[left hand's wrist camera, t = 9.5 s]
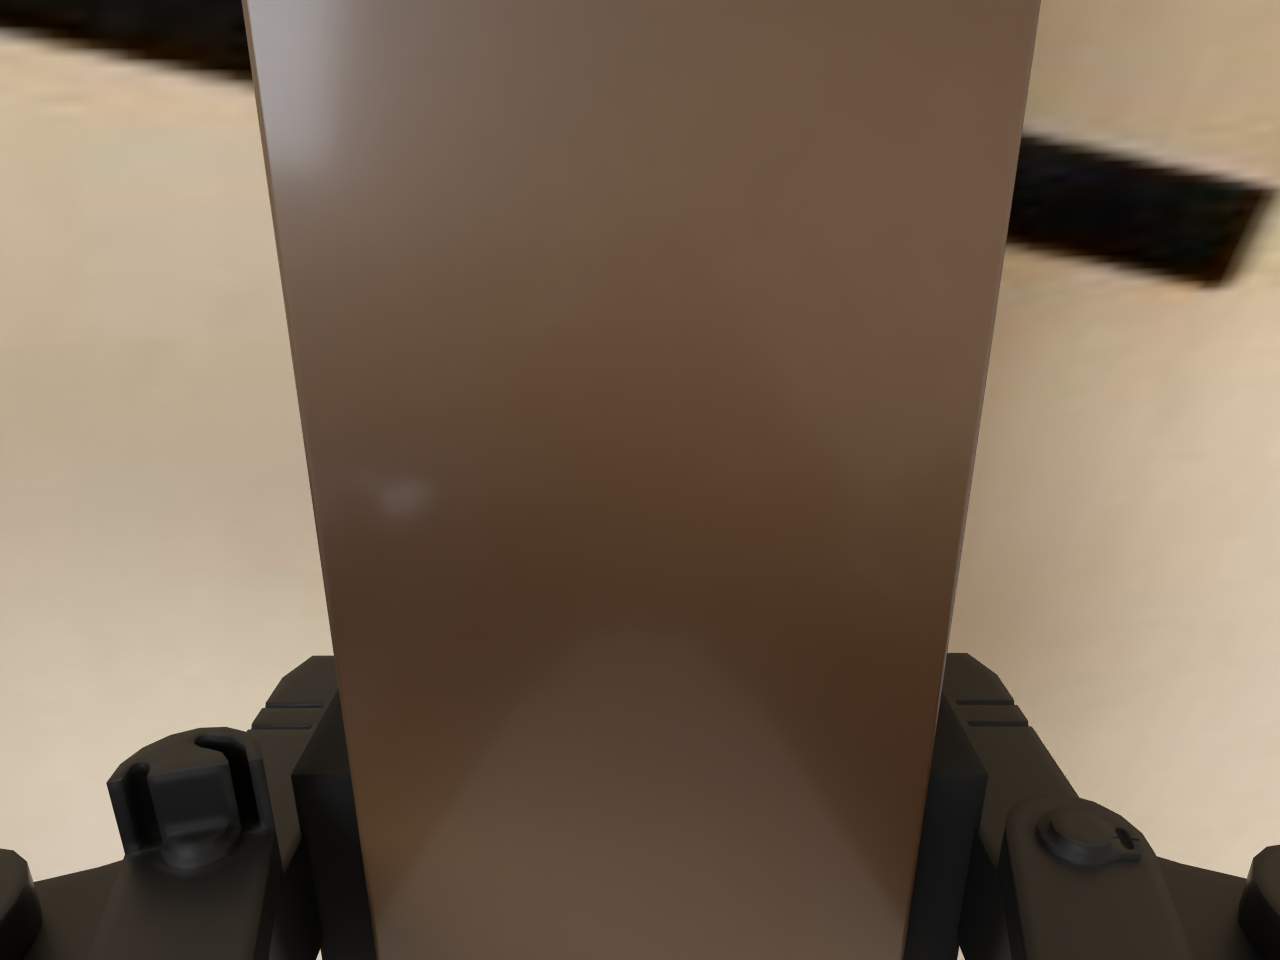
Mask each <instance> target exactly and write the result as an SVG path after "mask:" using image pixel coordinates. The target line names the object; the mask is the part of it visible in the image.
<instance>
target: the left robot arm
mask: <svg viewBox="0 0 1280 960" xmlns="http://www.w3.org/2000/svg"><path fill="white" fill-rule="evenodd" d="M107 787H108V791H109V795H110V798H111V802H112V806H113V810H114V814H115V817H116V821H117V825H118V829H119V833H120V836H121V840H122V844H123V848H124V852H125V856H124V859H123V860H121V861H118V862H115V863H111V864H108V865H105V866H101V867H98V868H93V869H89V870H85V871H80V872H76V873H72V874H67V875H63V876H59V877H54V878H50V879H46V880H41V881H37V882H33V880H32V876H31V873H30V870H29V867H28V864H27V861H25V860H24V859H23V858H22V857H21V856H19V855H18V854H17V853H16V852H15V851H13V850H6V849H0V960H316V958H317V956H318V953H319V951H320V949H321V954H322V960H377V957H376V950H375V943H374V936H373V929H372V922H371V915H370V908H369V901H368V893H367V886H366V879H365V872H364V865H363V858H362V851H361V844H360V837H359V830H358V822H357V815H356V808H355V801H354V794H353V787H352V780H351V773H350V766H349V759H348V751H347V744H346V737H345V730H344V723H343V716H342V709H341V702H340V695H339V688H338V680H337V673H336V666H335V659H334V656H312V657H310V658H309V659H308V660H306V661H305V662H303V663H302V664H301V665H299V666H298V667H297V668H295V669H294V670H292V671H291V672H290V673H288V674H287V675H286V676H284V677H283V678H282V679H281V681H280V682H279V684H278V685H277V687H276V688H275V690H274V691H273V693H272V694H271V696H270V697H269V699H268V700H267V702H266V707H265V708H262V709H261V711H260V712H259V714H258V715H257V717H256V718H255V720H254V721H253V723H252V728H251V730H247V732H244V731H240V730H236V729H232V728H228V727H213V728H197V729H193V730H189V731H185V732H181V733H177V734H173V735H170V736H167V737H165V738H163V739H161V740H159V741H156V742H154V743H152V744H150V745H148V746H145V747H143V748H142V749H140V750H139V751H138V752H136V753H135V754H134V755H132V756H131V757H129V758H128V759H127V760H125V761H124V762H123V763H121V764H120V765H119V767H118V768H117V769H116V771H115V772H114V773H113V775H112V776H111V777H110V779H109V780H108V781H107ZM959 946H960V948H961V951H962V953H963V956H964V958H965V960H1280V845H1275V846H1269V847H1266V848H1265V849H1264V850H1262V851H1261V852H1260V853H1259V854H1258V855H1256V856H1255V857H1254V858H1253V861H1252V864H1251V867H1250V870H1249V874H1248V877H1247V879H1246V878H1241V877H1237V876H1233V875H1228V874H1224V873H1220V872H1215V871H1211V870H1206V869H1202V868H1198V867H1193V866H1189V865H1185V864H1180V863H1177V862H1174V861H1170V860H1167V859H1164V858H1161V857H1157V856H1156V855H1155V853H1154V851H1153V849H1152V848H1151V846H1150V845H1149V843H1148V842H1147V840H1146V839H1145V837H1144V835H1143V834H1142V833H1141V832H1140V831H1139V830H1138V829H1136V828H1135V827H1134V826H1133V825H1132V824H1130V823H1129V822H1128V821H1127V820H1126V819H1124V818H1123V817H1122V816H1121V815H1119V814H1117V813H1115V812H1113V811H1111V810H1109V809H1107V808H1105V807H1103V806H1101V805H1099V804H1097V803H1095V802H1092V801H1089V800H1085V799H1081V798H1079V796H1078V795H1077V793H1076V792H1075V790H1074V789H1073V787H1072V786H1071V784H1070V783H1069V782H1068V780H1067V779H1066V777H1065V776H1064V774H1063V773H1062V771H1061V770H1060V768H1059V767H1058V765H1057V764H1056V762H1055V761H1054V759H1053V758H1052V756H1051V755H1050V753H1049V752H1048V750H1047V749H1046V747H1045V746H1044V744H1043V743H1042V741H1041V740H1040V738H1039V737H1038V735H1037V734H1036V732H1035V731H1034V729H1033V728H1032V727H1029V726H1028V720H1027V719H1026V717H1025V716H1024V714H1023V713H1022V711H1021V710H1020V708H1019V707H1018V705H1014V699H1013V698H1012V696H1011V695H1010V693H1009V692H1008V690H1007V689H1006V687H1005V686H1004V684H1003V683H1002V681H1001V680H1000V678H999V677H998V675H997V674H995V673H994V672H992V671H991V670H990V669H988V668H987V667H986V666H984V665H983V664H981V663H980V662H979V661H977V660H976V659H974V658H973V657H972V656H970V655H969V654H968V653H947V656H946V663H945V670H944V677H943V684H942V691H941V698H940V705H939V712H938V719H937V726H936V733H935V740H934V747H933V754H932V761H931V768H930V775H929V782H928V789H927V795H926V802H925V809H924V816H923V823H922V830H921V837H920V844H919V851H918V858H917V865H916V872H915V879H914V886H913V893H912V900H911V907H910V914H909V921H908V928H907V935H906V942H905V949H904V955H903V960H957V956H958V950H959Z"/></svg>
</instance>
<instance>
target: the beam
mask: <svg viewBox="0 0 1280 960" xmlns="http://www.w3.org/2000/svg"><path fill="white" fill-rule="evenodd" d="M1040 2H1041V0H242V6H243V13H244V20H245V27H246V34H247V41H248V48H249V56H250V63H251V70H252V77H253V84H254V91H255V98H256V105H257V112H258V119H259V127H260V134H261V141H262V148H263V155H264V162H265V169H266V176H267V183H268V190H269V198H270V205H271V212H272V219H273V226H274V233H275V240H276V247H277V254H278V261H279V269H280V276H281V283H282V290H283V297H284V304H285V311H286V318H287V325H288V332H289V340H290V347H291V354H292V361H293V368H294V375H295V382H296V389H297V396H298V403H299V411H300V418H301V425H302V432H303V439H304V446H305V453H306V460H307V467H308V474H309V482H310V489H311V496H312V503H313V510H314V517H315V524H316V531H317V538H318V545H319V553H320V560H321V567H322V574H323V581H324V588H325V595H326V602H327V609H328V616H329V624H330V631H331V638H332V645H333V652H334V659H335V666H336V673H337V680H338V688H339V695H340V702H341V709H342V716H343V723H344V730H345V737H346V744H347V751H348V759H349V766H350V773H351V780H352V787H353V794H354V801H355V808H356V815H357V822H358V830H359V837H360V844H361V851H362V858H363V865H364V872H365V879H366V886H367V893H368V901H369V908H370V915H371V922H372V929H373V936H374V943H375V950H376V957H377V960H903V955H904V949H905V942H906V935H907V928H908V921H909V914H910V907H911V900H912V893H913V886H914V879H915V872H916V865H917V858H918V851H919V844H920V837H921V830H922V823H923V816H924V809H925V802H926V795H927V789H928V782H929V775H930V768H931V761H932V754H933V747H934V740H935V733H936V726H937V719H938V712H939V705H940V698H941V691H942V684H943V677H944V670H945V663H946V656H947V649H948V642H949V635H950V629H951V622H952V615H953V608H954V601H955V594H956V587H957V580H958V573H959V566H960V559H961V552H962V545H963V538H964V531H965V524H966V517H967V510H968V503H969V496H970V489H971V482H972V475H973V469H974V462H975V455H976V448H977V441H978V434H979V427H980V420H981V413H982V406H983V399H984V392H985V385H986V378H987V371H988V364H989V357H990V350H991V343H992V336H993V329H994V322H995V315H996V309H997V302H998V295H999V288H1000V281H1001V274H1002V267H1003V260H1004V253H1005V246H1006V239H1007V232H1008V225H1009V218H1010V211H1011V204H1012V197H1013V190H1014V183H1015V176H1016V169H1017V162H1018V155H1019V149H1020V142H1021V135H1022V128H1023V121H1024V114H1025V107H1026V100H1027V93H1028V86H1029V79H1030V72H1031V65H1032V58H1033V51H1034V44H1035V37H1036V30H1037V23H1038V16H1039V9H1040Z"/></svg>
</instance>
